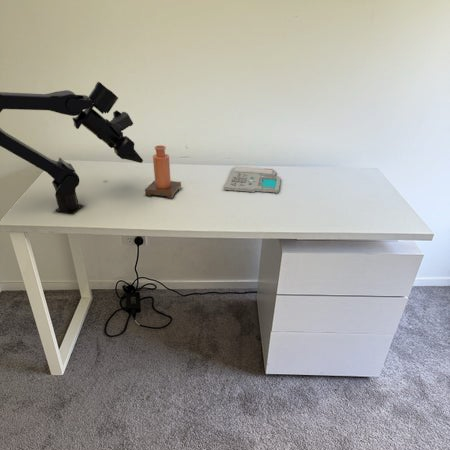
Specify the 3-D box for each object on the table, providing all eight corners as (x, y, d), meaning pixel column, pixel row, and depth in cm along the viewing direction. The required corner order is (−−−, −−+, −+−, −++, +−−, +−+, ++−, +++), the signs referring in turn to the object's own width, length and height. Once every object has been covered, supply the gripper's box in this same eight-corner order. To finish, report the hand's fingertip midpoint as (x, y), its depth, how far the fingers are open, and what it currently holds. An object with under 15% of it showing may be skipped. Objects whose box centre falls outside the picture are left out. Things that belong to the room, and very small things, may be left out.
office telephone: (233, 163, 159) (281, 166, 157) (233, 169, 160) (281, 173, 158) (224, 183, 141) (279, 187, 138) (224, 190, 142) (278, 194, 140)
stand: (172, 199, 135) (171, 192, 134) (145, 196, 137) (144, 189, 136) (181, 188, 143) (180, 182, 141) (156, 185, 145) (155, 179, 143)
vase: (168, 189, 136) (165, 150, 128) (153, 187, 137) (149, 148, 128) (173, 183, 140) (170, 145, 132) (158, 182, 141) (155, 144, 133)
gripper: (122, 110, 110) (162, 145, 121) (106, 98, 123) (143, 130, 134) (100, 142, 112) (141, 174, 123) (86, 126, 125) (124, 156, 136)
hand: (137, 157), depth 129 cm, fingers open, 9 cm apart
